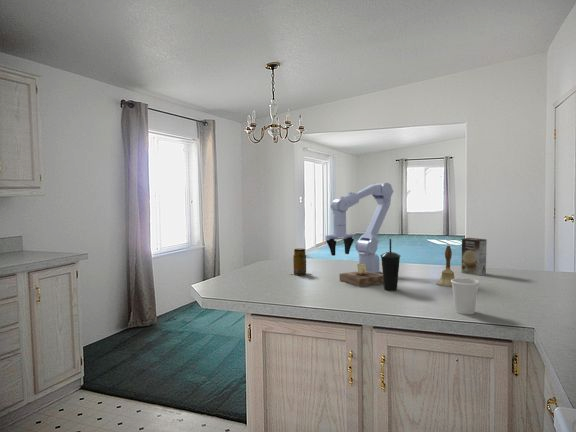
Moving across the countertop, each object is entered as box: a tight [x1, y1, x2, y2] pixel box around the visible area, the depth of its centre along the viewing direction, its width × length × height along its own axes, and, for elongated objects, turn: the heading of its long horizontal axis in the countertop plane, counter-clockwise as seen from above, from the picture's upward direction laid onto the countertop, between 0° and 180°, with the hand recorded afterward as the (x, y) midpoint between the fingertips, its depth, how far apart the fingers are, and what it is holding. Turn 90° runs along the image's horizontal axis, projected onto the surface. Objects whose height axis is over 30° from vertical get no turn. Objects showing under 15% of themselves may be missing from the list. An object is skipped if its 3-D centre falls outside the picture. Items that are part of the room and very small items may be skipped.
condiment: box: [289, 248, 312, 277], centre depth 203 cm, size 7×8×12 cm
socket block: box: [339, 270, 384, 287], centre depth 184 cm, size 14×14×3 cm
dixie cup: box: [451, 277, 480, 315], centre depth 135 cm, size 8×8×10 cm
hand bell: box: [436, 245, 456, 287], centre depth 175 cm, size 8×8×16 cm
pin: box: [357, 263, 366, 276], centre depth 184 cm, size 4×4×7 cm
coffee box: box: [460, 237, 488, 276], centre depth 197 cm, size 9×6×16 cm
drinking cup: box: [379, 238, 401, 292], centre depth 168 cm, size 8×8×20 cm
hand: (340, 254), depth 196 cm, fingers open, 7 cm apart
